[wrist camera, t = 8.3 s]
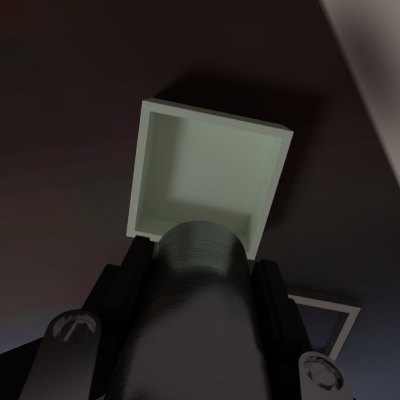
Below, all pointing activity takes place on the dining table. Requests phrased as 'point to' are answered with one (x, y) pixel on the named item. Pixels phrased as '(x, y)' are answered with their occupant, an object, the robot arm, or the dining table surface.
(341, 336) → the grey piece
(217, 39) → the dining table surface
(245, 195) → the bin
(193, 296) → the grey cylinder
